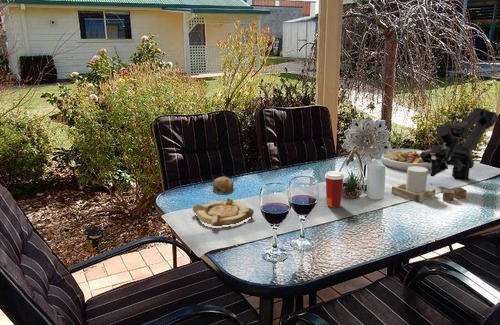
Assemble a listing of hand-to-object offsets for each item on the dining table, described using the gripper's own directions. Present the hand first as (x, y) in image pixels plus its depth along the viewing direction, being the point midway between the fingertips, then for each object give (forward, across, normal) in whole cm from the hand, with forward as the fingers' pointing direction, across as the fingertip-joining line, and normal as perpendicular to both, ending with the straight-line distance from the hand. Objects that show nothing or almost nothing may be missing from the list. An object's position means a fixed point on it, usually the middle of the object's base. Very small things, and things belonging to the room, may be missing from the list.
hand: (431, 175), depth 193 cm
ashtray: (+69, -30, -63) cm, 98 cm away
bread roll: (+57, -58, -51) cm, 96 cm away
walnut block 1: (+9, +13, 0) cm, 16 cm away
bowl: (-13, -30, +23) cm, 40 cm away
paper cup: (+39, -12, -32) cm, 52 cm away
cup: (+13, +1, -5) cm, 14 cm away
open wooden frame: (+13, 0, -5) cm, 14 cm away
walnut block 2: (+5, +14, +4) cm, 16 cm away
